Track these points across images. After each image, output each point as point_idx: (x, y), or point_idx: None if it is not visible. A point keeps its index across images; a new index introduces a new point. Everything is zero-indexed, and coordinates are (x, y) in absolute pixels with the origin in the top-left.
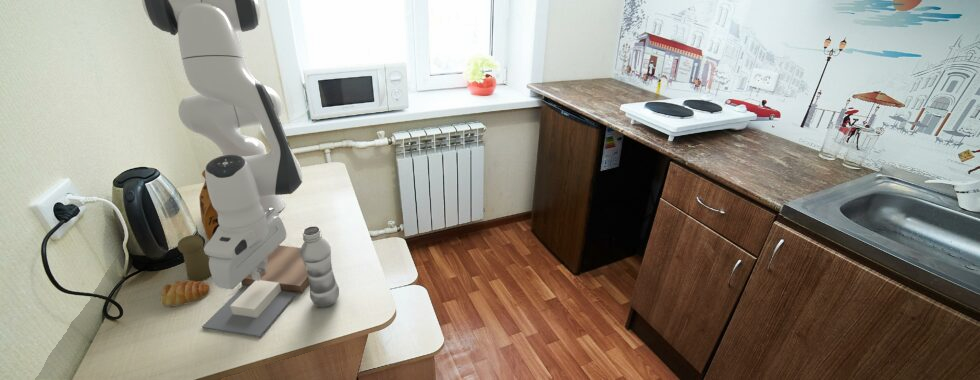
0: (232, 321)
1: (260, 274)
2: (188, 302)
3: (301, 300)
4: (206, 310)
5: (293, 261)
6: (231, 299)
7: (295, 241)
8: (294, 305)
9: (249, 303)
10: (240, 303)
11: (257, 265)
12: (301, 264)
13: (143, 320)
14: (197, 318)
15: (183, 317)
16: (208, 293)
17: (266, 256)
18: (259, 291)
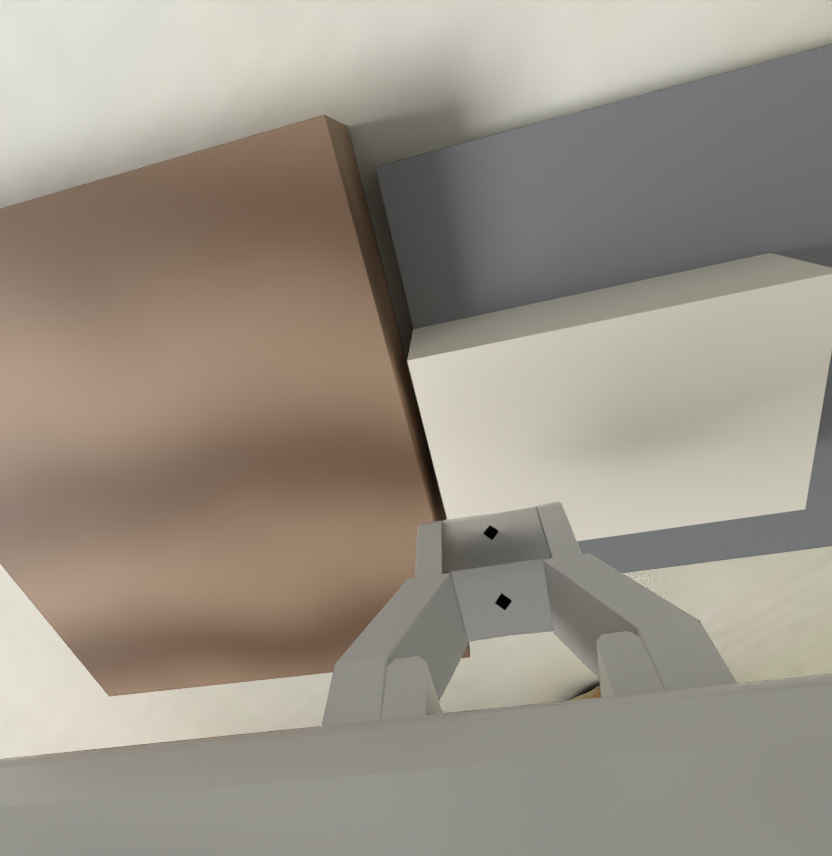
0: (829, 403)
1: (532, 544)
2: None
3: (420, 44)
4: (712, 612)
5: (123, 476)
6: (613, 565)
7: (5, 622)
8: (505, 57)
9: (755, 387)
10: (767, 457)
11: (682, 702)
12: (96, 384)
13: None
14: (784, 605)
15: (783, 662)
16: (597, 689)
17: (369, 739)
18: (577, 431)
